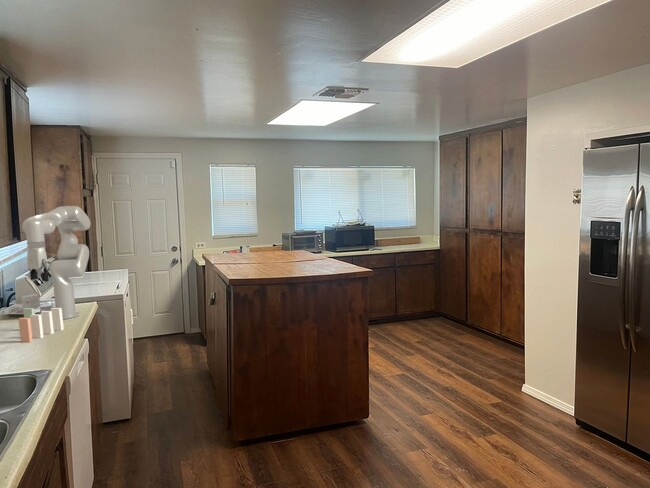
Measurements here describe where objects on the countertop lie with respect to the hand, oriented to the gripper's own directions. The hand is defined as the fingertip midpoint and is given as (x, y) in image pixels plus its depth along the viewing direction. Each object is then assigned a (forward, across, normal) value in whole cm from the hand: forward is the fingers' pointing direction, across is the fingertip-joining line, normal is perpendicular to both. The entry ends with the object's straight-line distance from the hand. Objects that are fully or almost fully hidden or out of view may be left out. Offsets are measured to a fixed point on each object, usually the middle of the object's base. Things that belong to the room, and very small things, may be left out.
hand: (39, 280), depth 239 cm
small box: (+25, -44, +17) cm, 53 cm away
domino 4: (+26, +8, -3) cm, 27 cm away
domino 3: (+26, +10, -9) cm, 29 cm away
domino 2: (+26, +11, -15) cm, 31 cm away
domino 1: (+25, -7, -3) cm, 27 cm away
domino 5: (+25, +6, +3) cm, 26 cm away
